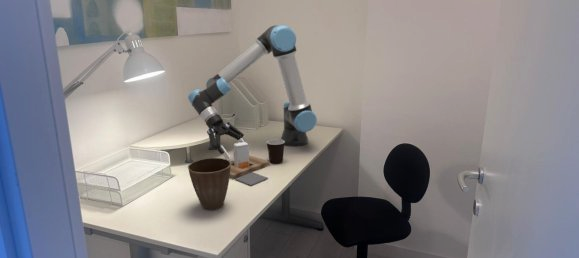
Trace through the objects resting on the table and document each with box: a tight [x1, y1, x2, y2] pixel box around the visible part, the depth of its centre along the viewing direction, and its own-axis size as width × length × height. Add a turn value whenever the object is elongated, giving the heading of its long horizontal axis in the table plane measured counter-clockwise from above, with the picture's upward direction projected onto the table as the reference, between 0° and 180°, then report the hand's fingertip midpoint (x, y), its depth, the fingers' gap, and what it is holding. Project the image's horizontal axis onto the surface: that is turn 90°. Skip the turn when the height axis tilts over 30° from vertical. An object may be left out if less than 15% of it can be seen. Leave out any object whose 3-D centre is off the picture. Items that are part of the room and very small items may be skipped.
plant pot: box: [187, 157, 231, 211], centre depth 139 cm, size 15×15×16 cm
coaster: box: [234, 172, 269, 187], centre depth 164 cm, size 10×10×1 cm
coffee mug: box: [266, 138, 285, 165], centre depth 185 cm, size 12×9×10 cm
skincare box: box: [232, 141, 250, 169], centre depth 175 cm, size 6×4×12 cm
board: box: [229, 154, 271, 181], centre depth 176 cm, size 22×14×2 cm, turn 138°
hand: (238, 154), depth 175 cm, fingers open, 13 cm apart
